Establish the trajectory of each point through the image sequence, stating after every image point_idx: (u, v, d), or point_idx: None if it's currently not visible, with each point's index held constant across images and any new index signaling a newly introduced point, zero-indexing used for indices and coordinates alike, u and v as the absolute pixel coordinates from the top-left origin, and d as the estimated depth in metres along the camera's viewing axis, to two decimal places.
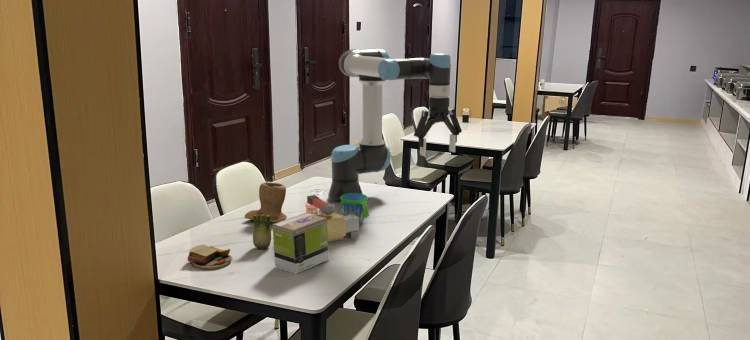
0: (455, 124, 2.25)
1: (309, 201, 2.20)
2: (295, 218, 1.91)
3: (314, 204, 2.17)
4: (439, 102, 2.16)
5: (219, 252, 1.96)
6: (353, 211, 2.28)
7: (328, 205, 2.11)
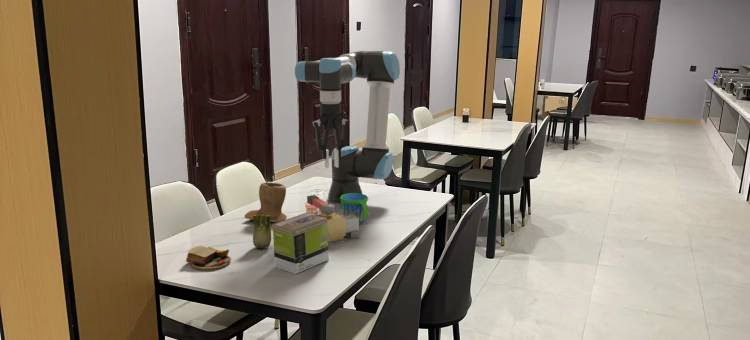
0: (342, 136, 2.16)
1: (309, 201, 2.20)
2: (295, 218, 1.91)
3: (314, 204, 2.17)
4: (327, 108, 2.09)
5: (218, 253, 1.95)
6: (353, 212, 2.28)
7: (328, 205, 2.11)
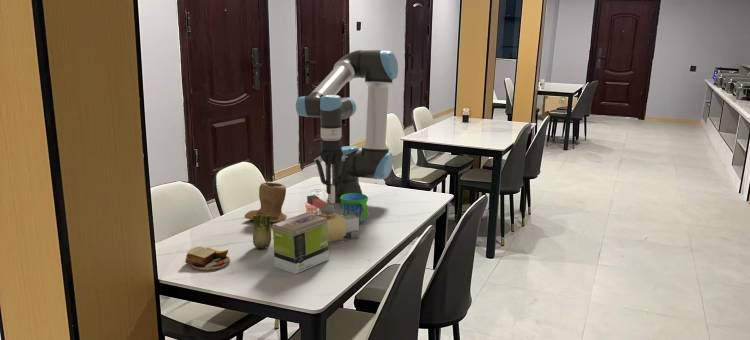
0: (340, 172, 2.19)
1: (309, 201, 2.20)
2: (295, 218, 1.91)
3: (314, 204, 2.17)
4: (328, 144, 2.12)
5: (217, 253, 1.95)
6: (353, 211, 2.28)
7: (328, 205, 2.11)
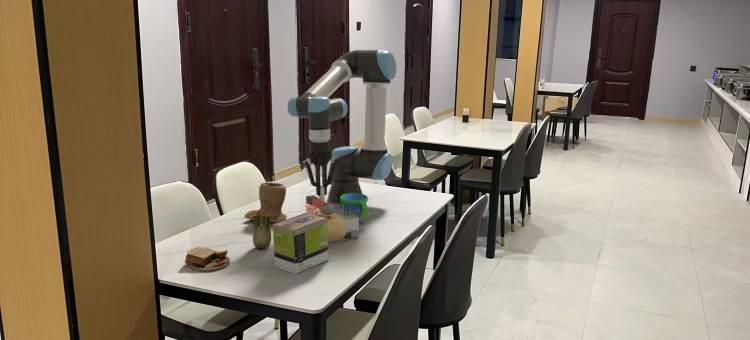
0: (329, 174, 2.17)
1: (308, 201, 2.20)
2: (295, 218, 1.91)
3: (313, 204, 2.17)
4: (316, 146, 2.10)
5: (216, 254, 1.94)
6: (353, 212, 2.28)
7: (328, 205, 2.11)
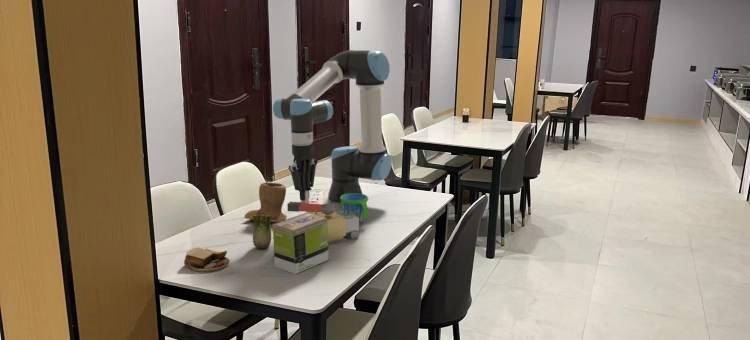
0: (310, 176, 2.15)
1: (293, 208, 2.12)
2: (295, 218, 1.91)
3: (303, 209, 2.11)
4: (305, 149, 2.06)
5: (216, 254, 1.94)
6: (353, 212, 2.28)
7: (327, 205, 2.11)
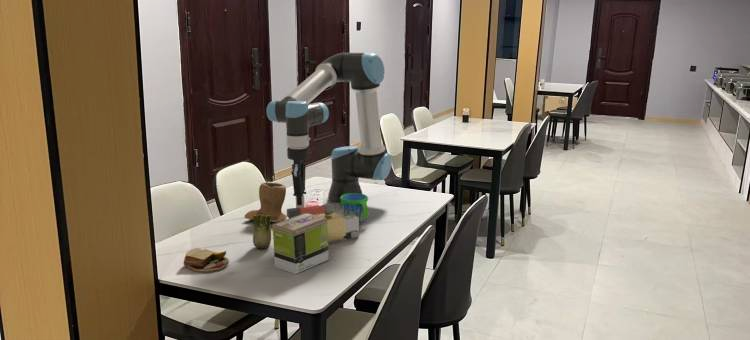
0: None
1: (295, 215, 2.05)
2: (295, 218, 1.91)
3: None
4: (306, 152, 2.02)
5: (215, 255, 1.93)
6: (353, 212, 2.28)
7: (327, 205, 2.11)
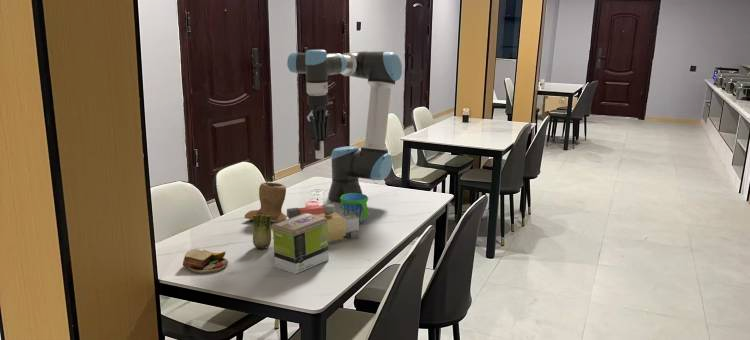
0: (324, 127, 2.19)
1: (295, 215, 2.05)
2: (295, 218, 1.91)
3: None
4: (321, 99, 2.10)
5: (214, 255, 1.93)
6: (353, 212, 2.28)
7: (327, 205, 2.11)
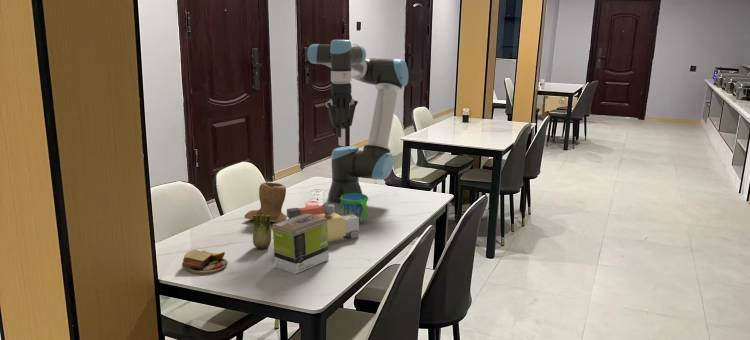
0: (349, 115, 2.25)
1: (295, 215, 2.05)
2: (295, 218, 1.91)
3: None
4: (340, 87, 2.18)
5: (213, 256, 1.92)
6: (353, 212, 2.28)
7: (327, 205, 2.11)
